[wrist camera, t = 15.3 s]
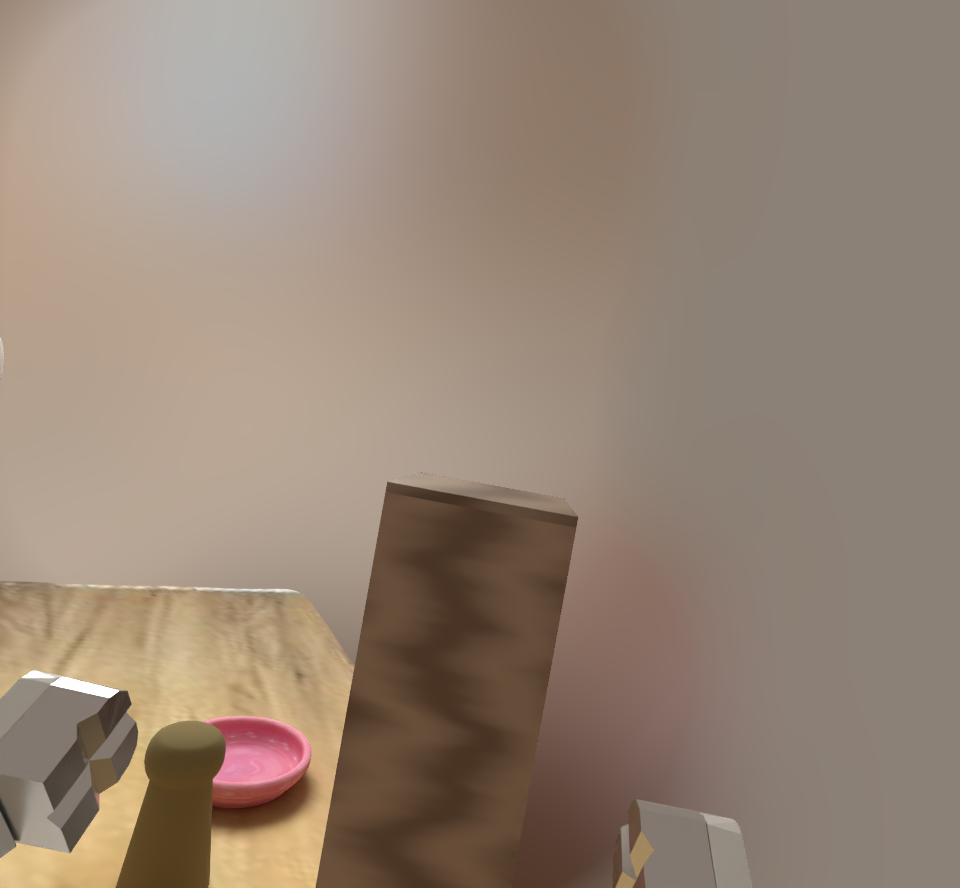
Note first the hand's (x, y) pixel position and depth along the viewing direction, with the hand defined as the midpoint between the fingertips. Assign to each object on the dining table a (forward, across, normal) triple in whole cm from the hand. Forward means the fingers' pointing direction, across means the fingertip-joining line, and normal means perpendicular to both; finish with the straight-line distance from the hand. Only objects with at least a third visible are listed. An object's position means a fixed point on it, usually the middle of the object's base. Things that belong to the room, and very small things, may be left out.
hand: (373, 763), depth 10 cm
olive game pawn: (+14, +18, +43) cm, 48 cm away
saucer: (+26, +19, +50) cm, 59 cm away
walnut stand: (+7, 0, +38) cm, 38 cm away
